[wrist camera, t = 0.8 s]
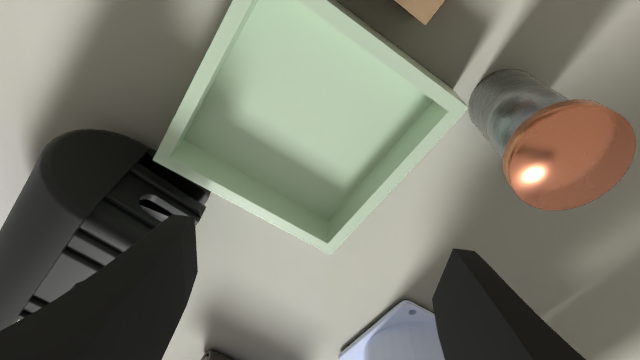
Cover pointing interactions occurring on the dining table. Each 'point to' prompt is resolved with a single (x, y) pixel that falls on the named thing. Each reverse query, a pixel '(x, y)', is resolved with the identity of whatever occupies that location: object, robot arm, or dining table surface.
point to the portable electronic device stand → (214, 356)
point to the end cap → (84, 215)
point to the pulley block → (421, 8)
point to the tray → (305, 117)
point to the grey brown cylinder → (551, 140)
